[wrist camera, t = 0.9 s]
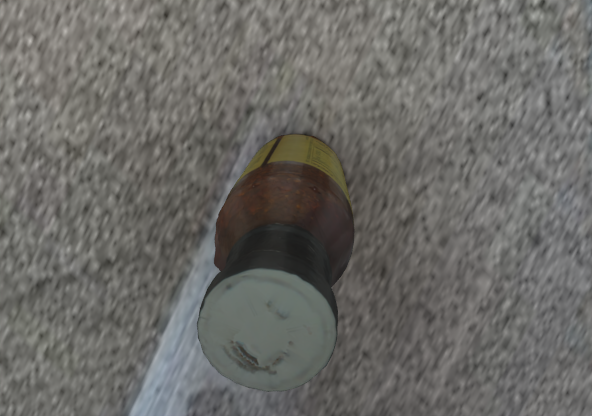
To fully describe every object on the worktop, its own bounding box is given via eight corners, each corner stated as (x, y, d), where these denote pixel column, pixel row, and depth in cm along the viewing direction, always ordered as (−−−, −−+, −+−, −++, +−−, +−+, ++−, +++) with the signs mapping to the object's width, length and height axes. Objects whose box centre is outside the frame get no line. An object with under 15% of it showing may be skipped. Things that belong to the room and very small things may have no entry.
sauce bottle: (268, 229, 34) (181, 449, 15) (240, 144, 32) (101, 270, 13) (359, 205, 33) (390, 410, 14) (335, 116, 31) (332, 210, 12)
